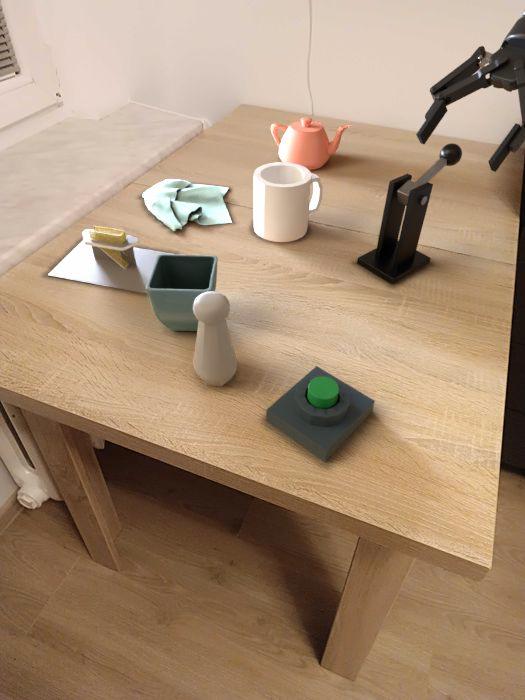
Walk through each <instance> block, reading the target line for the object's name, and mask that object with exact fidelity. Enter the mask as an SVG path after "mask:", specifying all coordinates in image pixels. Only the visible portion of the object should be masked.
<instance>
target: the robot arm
mask: <svg viewBox="0 0 525 700" xmlns="http://www.w3.org/2000/svg"><path fill="white" fill-rule="evenodd" d="M487 75H489V77H488V78H487V77H486V76H487ZM491 86H493V88H495V89H504V90H505V91H506V92H510V93H512V92H513V91H516V90H517V94H518V101H519V109H520V118H521V124H519V123H516V122H515V124H513V126H512V128H511V129H510V130H509V131H508V133H507V134H506V136H505V137H504V139H503V140H502V141H501V143H500V144H499V146H498V147H497V149H496V150H495V151H494V153H493V154H492V155H491V157H490V158H489V159H488V161H487V162H488V165H489V168H490V171H492V172H494V173H496V172H497V171H498V170H499V168H500V167H501V166H502V164H503V163H504V161H505V160H506V158H507V157H508V155H509V154H510V153H514V154H515V153H517V152H518V151H519V149H520V148H521V146H522V145H523V144H524V143H525V9H524V10H523V11H522V12H521V14H520V15H519V18H518V19H517V20H516V21H515V23H514V25H513V26H512V27H511V29H510V30H509V32H508V33H507V34H506V36H505V37H504V39H503V41H502V43H501V45H500V47H499V49H497V50H496V51H495V52H493V53H491V52H489V51H487V50H486V48H485V46H484V45H480V46H478V47H477V49H475V51H474V52H473V54H471V56H470V57H469V58H467V59H466V60H465V61H463V62H462V63H461V64H460V65H458V66H457V67H456V68H454V69H453V70H452V71H451V72H449V73H448V74H446V75H445V76H444V77H443V78H442V79H440V80H438V81H437V82H436V83H435V84H433V85H432V86H431V87H430V88H429V93H430V95H431V98H432V100H433V102H432V104H431V106H430V107H429V108H428V109H427V111H426V113H425V115H424V119H425V120H424V122H423V124H422V125H421V127H420V128H419V130H418V131H417V133H416V134H415V135H416V137H417V139H418V141H419V143H420V144H421V145H426V143H427V141H428V140H429V139H430V137H431V136H432V134H433V133H434V131H435V130H436V129H437V127H438V125H439V124H440V122H441V121H442V120H443V118H444V117H445V115H446V114H447V112H448V108H447V106H450V105H452V104H453V103H456V102H457V101H459V100H462V99H463V98H466V97H468V96H470V95H471V94H473V93H475V92H477V91H479V90H481V89H488V88H490V87H491Z"/></svg>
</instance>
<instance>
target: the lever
mask: <svg viewBox="0 0 525 700" xmlns="http://www.w3.org/2000/svg"><path fill="white" fill-rule="evenodd" d="M438 156H439V158H438V160H436V161H435V163H433V164H432V165H431V166H430V167H429V168H428V169H427V170H426V171H424V173H422V174H421V176H419V177H418V178H417V179H416V180H415V181H412V179H411V180H408V181H407V182H406V183H405V184H404V185H403V186H402V187H401V188H399V189H398V190H397V196H398V202H399V203H401V204H403V205H405V207H406V206H407V202H408V198H409V193H410V190H412V189H414V188H416V187H419V186H421V185H423V184H425V183H427V182H429V183H430V181H431V180H432V179H433V178H434V177H435V176H436V175H437V174H439V172H440V171H441V170H444V168H445V167H452V166H455V165H457V164H458V163H459V162H460V161H461V160H462V157H463V150H462V147H461V146H460V145H459V144H457V143H453V142H450V143H447V144H445V145H444V146H443V147H442V148H441V150H440V152H439V155H438Z"/></svg>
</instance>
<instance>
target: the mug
mask: <svg viewBox="0 0 525 700" xmlns="http://www.w3.org/2000/svg"><path fill="white" fill-rule="evenodd" d="M312 185H313V188H312ZM311 189H312V197H311ZM323 189H324V186H323V184H322V181H321V177H320V176H319V175H316V174H315V173H312V171H311V170H308V169H307V168H306V167H304V166H301V165H299V164H294V163H288V162H282V161H275V162H268V163H264V164H262V165H260V166H258V167H257V168H256V169H255V170H254V172H253V230H254V232H255V233H256V235H257V236H258V237H261V238H262V239H264V240H266V241H268V242H269V241H270V242H274V243H275V242H276V243H288V242H289V243H290V242H293V241H297V240H300V239H301V238H303V237H304V236H305V235H306V234H307V231H308V226H309V214H312V213H316V212H318V211H319V209H320V206H321V202H322V200H323Z"/></svg>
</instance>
